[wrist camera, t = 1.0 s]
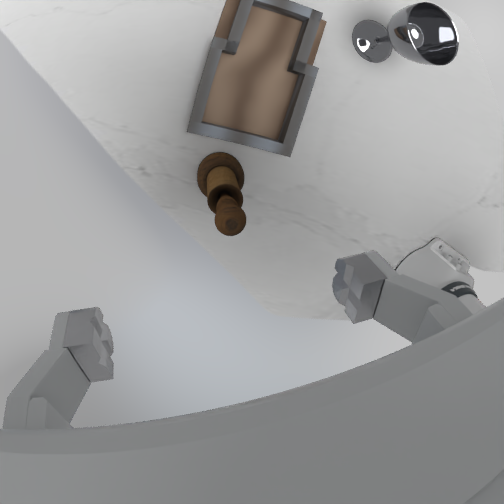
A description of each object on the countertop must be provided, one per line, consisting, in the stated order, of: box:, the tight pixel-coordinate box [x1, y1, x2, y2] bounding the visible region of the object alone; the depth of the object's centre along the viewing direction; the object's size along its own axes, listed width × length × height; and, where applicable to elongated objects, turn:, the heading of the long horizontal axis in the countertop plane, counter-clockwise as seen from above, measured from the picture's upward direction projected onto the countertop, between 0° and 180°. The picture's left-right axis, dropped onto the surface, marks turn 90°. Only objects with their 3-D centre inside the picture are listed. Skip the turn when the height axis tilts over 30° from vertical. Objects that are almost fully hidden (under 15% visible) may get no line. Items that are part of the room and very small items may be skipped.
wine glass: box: [352, 2, 459, 65], centre depth 31 cm, size 8×8×15 cm
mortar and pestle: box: [197, 152, 246, 236], centre depth 38 cm, size 7×6×18 cm
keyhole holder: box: [187, 0, 326, 157], centre depth 37 cm, size 14×21×4 cm, turn 164°
